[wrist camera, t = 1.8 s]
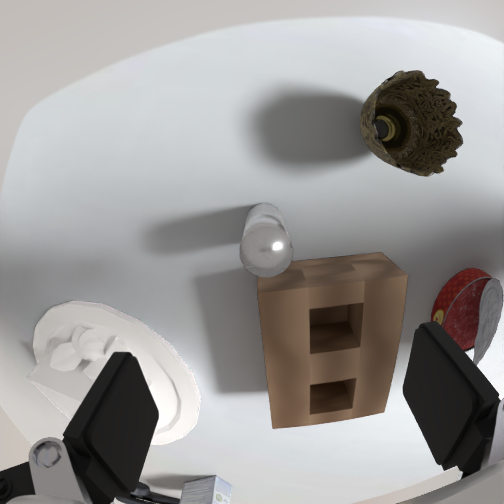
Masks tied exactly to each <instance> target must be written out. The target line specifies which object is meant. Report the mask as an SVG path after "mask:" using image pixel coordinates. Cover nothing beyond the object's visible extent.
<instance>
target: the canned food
mask: <svg viewBox="0 0 504 504" xmlns="http://www.w3.org/2000/svg"><path fill="white" fill-rule="evenodd" d="M502 307H503V290H502V287H501V285H500V281H499V280H497V279H495V278H493V277H491V276H490V275H488V274H486V273H485V272H483V271H482V270H480V269H476V268H470V269H466V270H463V271H461V272H459V273H458V274H456V275H455V276H454V277H452V278H451V279H450V280H449V281H448V282H447V283H446V284H445V286H444V287H443V288H442V290H441V291H440V293H439V295H438V297H437V299H436V300H435V303H434V306H433V309H432V314H431V321H437V322H438V323H439V324H440V325H441V326H442V327H443V328H444V329H445V330H446V332H447V333H448V334H449V335H450V336H451V337H452V338H453V339H454V341H455V342H456V343H457V344H458V345H459V346H460V347H461V348H462V350H463V351H464V352H466V351H469V350H471V349H473V348H474V359H473V362H474V364H475V365H476V366H477V364H478V363H479V361H480V360H481V359H482V358H483V356H484V354H485V352H486V351H487V349H488V348H489V346H490V344H491V341H492V339H493V337H494V335H495V333H496V330H497V326H498V323H499V320H500V317H501V311H502Z"/></svg>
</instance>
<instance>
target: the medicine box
mask: <svg viewBox="0 0 504 504" xmlns="http://www.w3.org/2000/svg"><path fill="white" fill-rule="evenodd" d="M230 496H231V485H230V484H229V483H228V482H226V481H225V480H223V479H221V478H220V477H218V476H213V477H209V478H205V479H200V480H195V481H190V482H185V483H184V485H183V489H182V494H181V499H180V503H179V504H230Z"/></svg>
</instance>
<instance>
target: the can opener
mask: <svg viewBox="0 0 504 504" xmlns="http://www.w3.org/2000/svg"><path fill="white" fill-rule="evenodd" d="M115 498H116V499H117V500H118V501H120V502H123V503H126V504H156V503H158V504H179V503H180V499H174V498H167V497H161V496H156V495H152V494H150V489H149V487H148V486H147V485H145V484H143V483H141V482H138V485H137V488H136V490H135V492H131V494H130V498H129V499H126V498H122V497H118V496H115ZM136 498H139V499H136ZM140 499H142V500H140ZM144 500H146V501H144ZM148 501H150V502H148ZM152 502H153V503H152Z"/></svg>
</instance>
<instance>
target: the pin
mask: <svg viewBox="0 0 504 504" xmlns="http://www.w3.org/2000/svg"><path fill="white" fill-rule="evenodd" d="M292 257H293V246H292V243H291V240H290V237H289V234H288V231H287V229H286V226H285V223H284V220H283V217H282V215H281V212H280V211H279V210H278V208H277V207H275V206H274V205H272V204H268V203H261V204H257V205H255V206H254V207H253V208H252V209H251V210H250V211H249V213H248V215H247V219H246V223H245V228H244V232H243V237H242V241H241V246H240V258H241V261H242V263H243V265H244V267H245V268H246V269H247V270H248V271H249V272H251V273H252V274H254V275H256V276H260V277H273V276H276V275H278V274H280V273H282V272H283V271H284V270H285V269H286V268H287V267H288V266H289V264H290V263H291V260H292Z"/></svg>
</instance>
